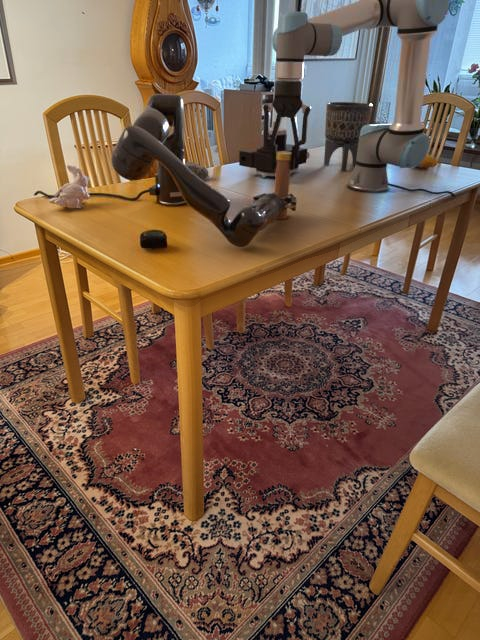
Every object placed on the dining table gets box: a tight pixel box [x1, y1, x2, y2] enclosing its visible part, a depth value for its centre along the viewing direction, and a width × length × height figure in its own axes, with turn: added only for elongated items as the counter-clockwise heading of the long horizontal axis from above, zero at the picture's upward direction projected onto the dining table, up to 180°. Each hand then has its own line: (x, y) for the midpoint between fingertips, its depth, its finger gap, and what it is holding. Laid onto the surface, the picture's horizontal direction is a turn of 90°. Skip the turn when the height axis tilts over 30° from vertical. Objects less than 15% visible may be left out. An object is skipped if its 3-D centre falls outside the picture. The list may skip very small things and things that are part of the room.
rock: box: [185, 160, 210, 180], centre depth 181 cm, size 13×9×6 cm, turn 131°
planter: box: [323, 101, 374, 172], centre depth 204 cm, size 20×20×26 cm
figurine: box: [48, 164, 91, 209], centre depth 145 cm, size 8×15×13 cm, turn 145°
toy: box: [417, 153, 439, 169], centre depth 213 cm, size 11×6×15 cm
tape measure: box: [139, 229, 168, 250], centre depth 117 cm, size 7×7×4 cm
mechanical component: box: [238, 120, 311, 178], centre depth 191 cm, size 22×21×30 cm
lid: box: [276, 151, 292, 161], centre depth 133 cm, size 5×5×2 cm
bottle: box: [274, 160, 291, 220], centre depth 138 cm, size 4×4×19 cm
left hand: (283, 195), depth 142 cm, fingers closed on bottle, 4 cm apart
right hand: (283, 168), depth 135 cm, fingers closed on lid, 5 cm apart
